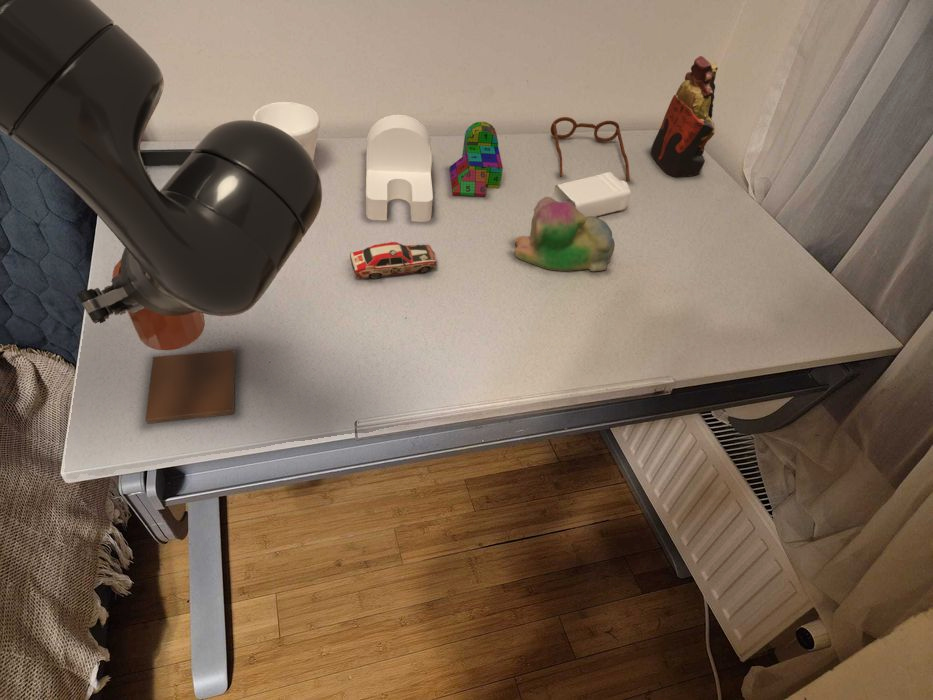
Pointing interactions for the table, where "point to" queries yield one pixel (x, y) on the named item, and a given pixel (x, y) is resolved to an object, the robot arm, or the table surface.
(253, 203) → the robot arm
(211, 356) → the walnut board
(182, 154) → the dark grey square frame
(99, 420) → the table surface
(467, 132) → the multicoloured toy chair
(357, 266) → the race car
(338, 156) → the table surface
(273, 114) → the cup
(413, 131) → the bracket
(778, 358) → the table surface
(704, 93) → the statue
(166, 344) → the terracotta cup
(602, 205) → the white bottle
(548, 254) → the sculpture
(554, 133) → the glasses
